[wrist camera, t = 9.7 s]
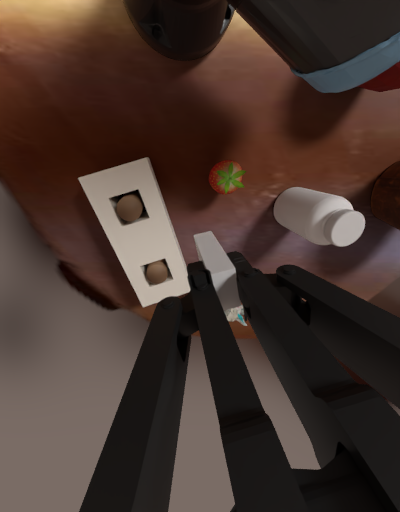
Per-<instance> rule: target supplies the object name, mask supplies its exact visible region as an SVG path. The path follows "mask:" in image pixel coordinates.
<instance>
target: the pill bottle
mask: <svg viewBox="0 0 400 512" xmlns="http://www.w3.org/2000/svg"><path fill="white" fill-rule="evenodd" d="M274 217H275V219H276V220H277V222H278V223H279V224H281V225H282V226H284V227H286V228H287V229H289V230H291V231H293V232H294V233H296V234H298V235H300V236H301V237H303V238H305V239H307V240H308V241H310V242H312V243H314V244H317V245H329V244H333V245H335V246H338V247H344V246H348V245H350V244H352V243H353V242H355V241H356V240H357V239H358V238H359V237H360V236H361V234H362V232H363V230H364V227H365V219H364V216H363V215H362V214H361V213H360V212H358V211H354V210H353V207H352V205H351V203H350V202H349V201H348V200H346V199H345V198H343V197H340V196H336V195H332V194H327V193H323V192H319V191H314V190H310V189H305V188H301V187H293V188H289V189H287V190H285V191H284V192H283V193H281V194H280V195H279V197H278V198H277V200H276V202H275V204H274Z"/></svg>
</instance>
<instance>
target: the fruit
mask: <svg viewBox="0 0 400 512" xmlns="http://www.w3.org/2000/svg"><path fill="white" fill-rule="evenodd" d="M245 172H246V171H243V170H242V169H241V167H240V165H239V164H238V163H237V162H235V161H232V160H224V161H221V162H219V163H217V164H216V165H214V166H213V168H212V169H211V171H210V174H209V183H210V185H211V187H212V188H213V189H214V190H215V191H216V192H218V193H220V194H230V193H232V192H234V191H235V190H236V189H237V188H238V187H244V186H243V184H242V183H241V180H242V175H243V174H244V173H245Z"/></svg>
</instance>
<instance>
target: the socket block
mask: <svg viewBox="0 0 400 512" xmlns="http://www.w3.org/2000/svg"><path fill="white" fill-rule="evenodd" d="M78 179H79V181H80V183H81V185H82V187H83V189H84V191H85V193H86V195H87V197H88V199H89V201H90V203H91V205H92V207H93V209H94V211H95V213H96V215H97V217H98V219H99V221H100V223H101V225H102V227H103V229H104V231H105V233H106V235H107V237H108V239H109V241H110V243H111V245H112V247H113V249H114V251H115V253H116V255H117V257H118V259H119V261H120V263H121V265H122V267H123V269H124V271H125V273H126V275H127V277H128V279H129V280H130V282H131V284H132V286H133V288H134V290H135V292H136V294H137V296H138V298H139V300H140V302H141V304H142V306H143V307H145V306H148V305H151V304H154V303H157V302H160V301H161V300H162V299H164V298H166V297H170V296H179V295H182V294H185V293H188V292H190V286H189V282H188V279H187V276H188V273H187V267H186V264H185V261H184V258H183V255H182V252H181V249H180V246H179V243H178V241H177V238H176V235H175V232H174V229H173V226H172V223H171V220H170V217H169V214H168V212H167V209H166V206H165V203H164V200H163V197H162V194H161V191H160V188H159V185H158V182H157V180H156V177H155V174H154V171H153V168H152V165H151V162H150V159H149V157H146V158H143V159H139V160H136V161H133V162H129V163H126V164H123V165H119V166H116V167H113V168H109V169H106V170H103V171H99V172H96V173H93V174H90V175H86V176H83V177H80V178H78ZM137 189H139V192H140V195H141V197H142V200H143V202H144V205H145V207H146V210H147V211H146V212H143V213H141V215H140V217H139V218H138V219H137V220H135V221H126V220H123V219H122V218H121V217H120V216H119V215H118V213H117V209H116V207H117V203H118V202H119V201H120V200H119V198H118V195H121V194H124V193H127V192H131V191H134V190H137ZM164 258H165V259H166V261H167V264H168V266H167V279H166V280H165V281H164V282H163V283H160V284H154V283H151V282H150V281H149V280H148V279H147V267H148V264H149V263H152V262H155V261H158V260H161V259H164Z"/></svg>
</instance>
